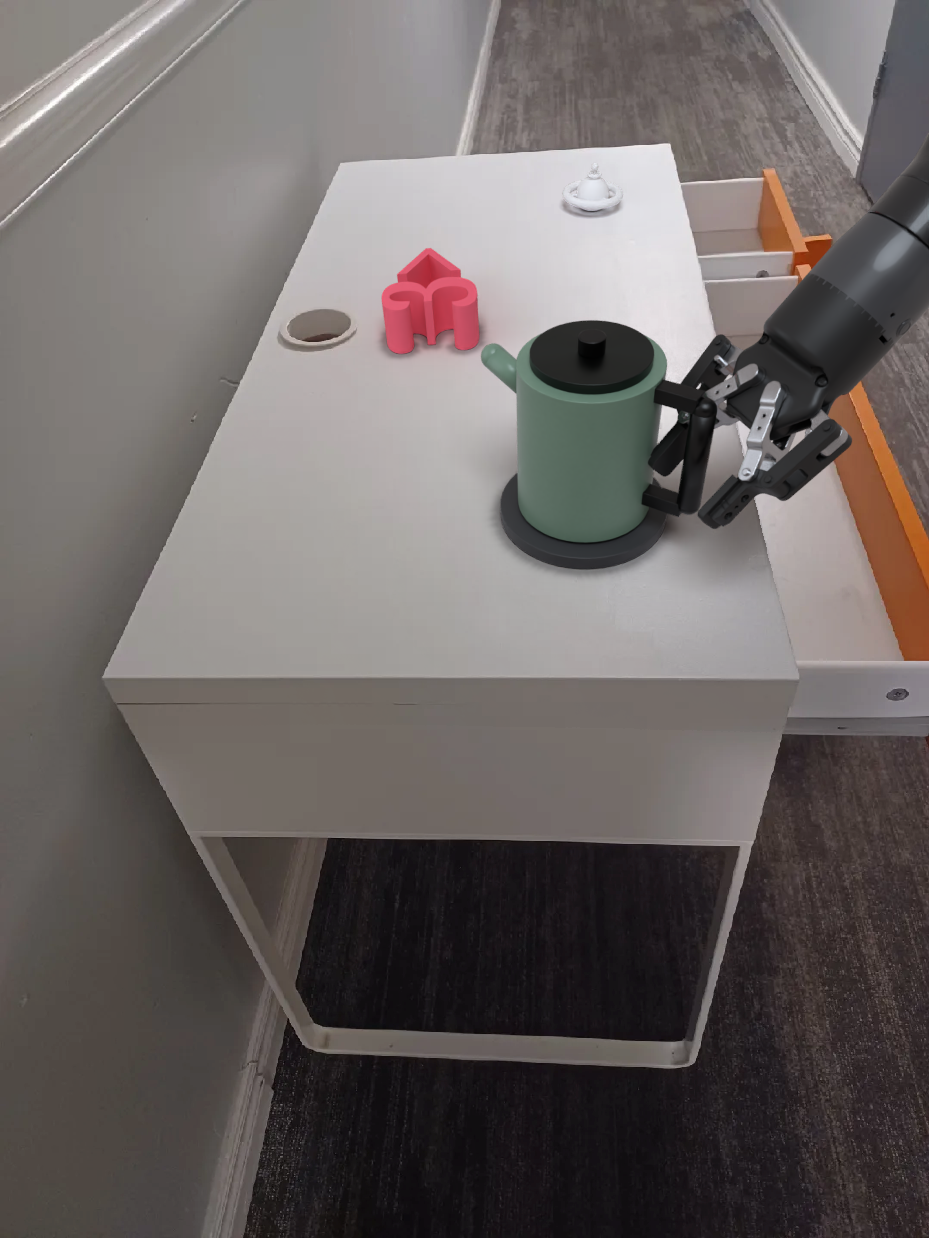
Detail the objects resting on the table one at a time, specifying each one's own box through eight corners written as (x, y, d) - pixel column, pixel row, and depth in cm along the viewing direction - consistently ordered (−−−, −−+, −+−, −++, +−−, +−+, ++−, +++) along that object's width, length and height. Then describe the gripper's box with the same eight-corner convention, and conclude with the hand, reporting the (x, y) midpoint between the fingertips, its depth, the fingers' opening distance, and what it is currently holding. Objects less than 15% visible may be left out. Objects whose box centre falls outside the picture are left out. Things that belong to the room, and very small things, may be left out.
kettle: (720, 499, 73) (754, 333, 62) (664, 579, 67) (690, 412, 56) (519, 433, 81) (517, 276, 70) (453, 499, 75) (439, 339, 64)
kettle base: (673, 472, 78) (675, 461, 77) (656, 580, 69) (658, 569, 68) (519, 455, 81) (519, 444, 80) (483, 556, 72) (483, 545, 71)
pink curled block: (390, 292, 104) (385, 250, 101) (476, 287, 104) (474, 245, 100) (385, 354, 95) (380, 311, 91) (480, 349, 94) (478, 305, 91)
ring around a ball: (611, 224, 114) (629, 201, 119) (615, 178, 109) (634, 156, 114) (552, 215, 116) (572, 192, 121) (555, 170, 112) (575, 148, 117)
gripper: (762, 236, 61) (602, 426, 67) (909, 324, 52) (707, 536, 57) (809, 292, 66) (657, 464, 72) (951, 382, 56) (762, 571, 62)
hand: (680, 495), depth 65 cm, fingers open, 6 cm apart
